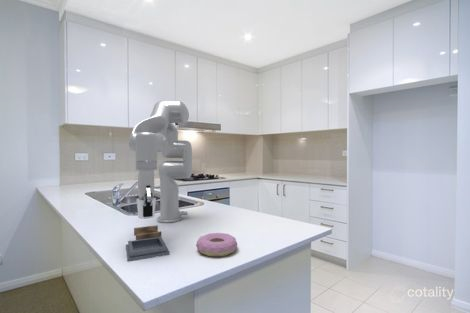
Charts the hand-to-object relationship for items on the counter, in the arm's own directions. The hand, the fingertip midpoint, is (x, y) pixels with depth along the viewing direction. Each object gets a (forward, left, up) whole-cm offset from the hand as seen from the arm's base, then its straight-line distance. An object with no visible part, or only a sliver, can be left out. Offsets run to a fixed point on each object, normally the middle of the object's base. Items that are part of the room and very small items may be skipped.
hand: (146, 213), depth 97 cm
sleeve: (-2, -16, -14) cm, 21 cm away
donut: (-24, +10, -14) cm, 30 cm away
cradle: (0, 0, -14) cm, 14 cm away
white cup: (0, 0, -1) cm, 1 cm away
